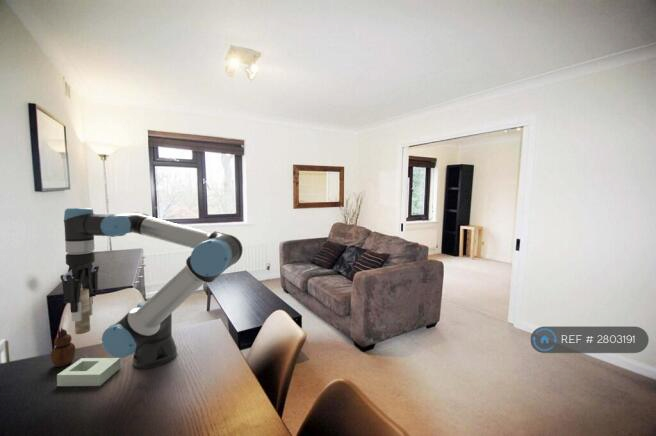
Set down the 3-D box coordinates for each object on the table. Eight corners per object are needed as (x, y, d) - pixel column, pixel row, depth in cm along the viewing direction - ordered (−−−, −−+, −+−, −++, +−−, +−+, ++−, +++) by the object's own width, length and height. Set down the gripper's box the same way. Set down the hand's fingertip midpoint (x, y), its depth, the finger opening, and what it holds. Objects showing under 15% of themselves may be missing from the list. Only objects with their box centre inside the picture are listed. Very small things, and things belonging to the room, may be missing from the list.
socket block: (120, 368, 105) (120, 357, 105) (100, 385, 95) (99, 374, 95) (81, 368, 104) (81, 358, 104) (57, 386, 94) (56, 374, 94)
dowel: (93, 328, 101) (91, 288, 100) (84, 334, 97) (82, 291, 96) (81, 328, 100) (80, 288, 100) (72, 334, 96) (70, 291, 96)
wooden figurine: (59, 370, 103) (58, 330, 102) (47, 368, 104) (45, 329, 103) (79, 360, 110) (78, 323, 109) (67, 358, 111) (66, 321, 110)
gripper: (88, 247, 105) (90, 308, 107) (45, 257, 88) (48, 328, 90) (109, 248, 106) (110, 308, 107) (70, 257, 89) (72, 328, 90)
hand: (82, 317), depth 98 cm, fingers closed on dowel, 4 cm apart
